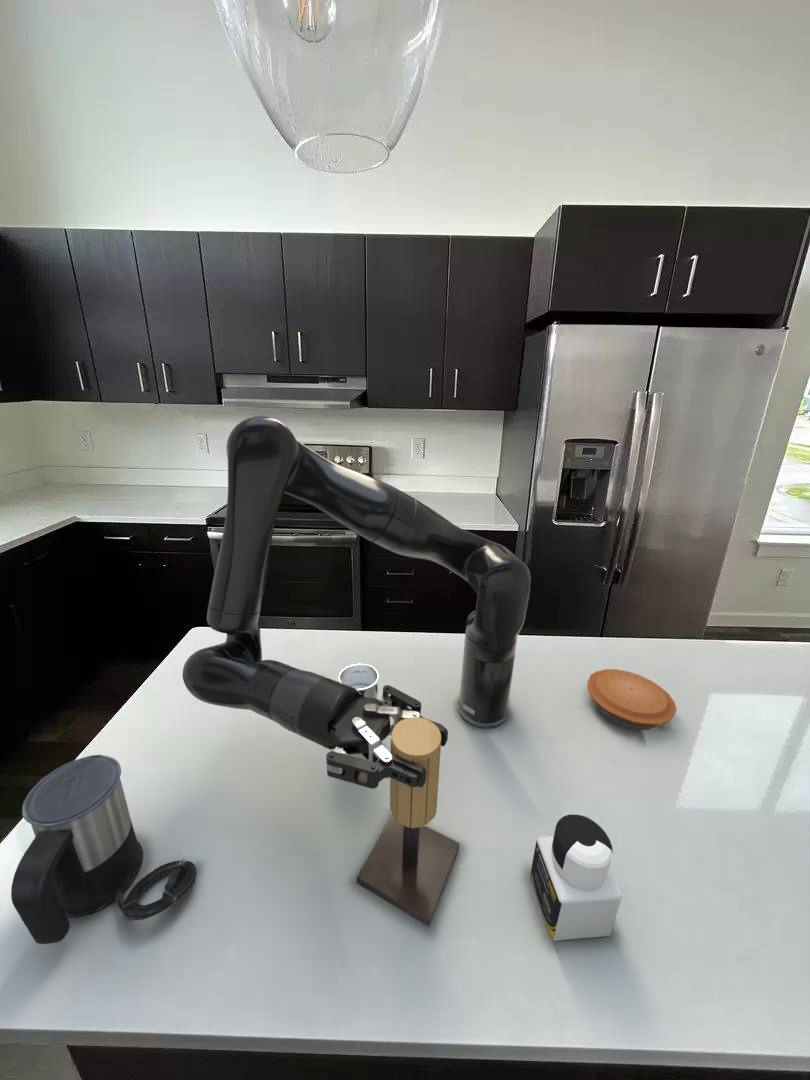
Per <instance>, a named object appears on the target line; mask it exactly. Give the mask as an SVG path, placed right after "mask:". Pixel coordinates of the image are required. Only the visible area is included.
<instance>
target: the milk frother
mask: <svg viewBox="0 0 810 1080" xmlns="http://www.w3.org/2000/svg"><path fill="white" fill-rule="evenodd" d="M121 775H122V767H121V764H120V763H119V761H118V759H115V758H114V757H111V756H109V755H103V754H92V755H88V756H85V757H84V756H83V757H80V758H78V759H74V760H71V761H68V762H67V763H65V764H63V765H61V766H60V767H59V766H58V767H57V768H55V769H54V770H53V771H51V772H49V773H48V774H46V775H45V776H43V778H41V779H40V780H39V781H38V782H37V783H36V784H35V785H34V786H33V787H32V788H31V789H30V791H29V792H28V794H27V795H26V797H25V799H24V801H23V803H22V807H21V812H22V813H21V814H22V817H23V819H24V820H25V821H26V823H29V824H30V825H31V828H32V832H33V834H34V839H33V840H32V841H31V843H30V845H28V847H27V849H26V850H25V852H24V854H23V855H22V857H21V859H19V860H20V861H19V862H18V864H17V867H16V870H15V872H14V874H13V875H14V876H13V878H12V883H11V889H10V890H11V891H10V897H11V903H12V905H13V907H14V909H15V911H16V912H17V914H18V916H19V917H20V919H21V921H22V922H23V924H24V926H25V927H26V929H27V931H28V932H29V934H30V935H31V937H32V939H33V940H34V942H35V943H36V944H38V945H49V944H56V943H59V942H62V941H63V940H64V939H65V938H66V937H67V935H68V933H69V931H70V928H71V922H70V920H69V918H68V916H84V915H85V916H86V915H88V914H91V913H94V912H97V911H99V910H102V909H104V908H105V907H107V906H108V905H110V904H111V903H112V902H114V901H115V900H116V903H117V906H118V908H119V910H120V912H121V913H122V915H123V916H124V918H126V920H127V919H128V920H130V921H142V920H145V919H148V918H149V919H150V918H152V917H154V916H156V915H158V914H160V913H162V912H164V911H166V910H167V909H169V908H170V907H172V906H173V905H174V904H176V903H177V902H179V901H180V900H181V899H182V898H183V897H184V896H185V895H186V894H187V893H188V892H189V891H190V890H191V889H192V888H193V886H194V884H195V882H196V879H197V876H198V870H197V866H196V864H195V863H193V862H192V861H190V860H186V859H185V857H184V858H183V857H182V858H181V859H179V860H174V861H169V862H167V863H164V864H162V865H159V866H158V867H156V868H154V869H153V870H152V871H150V872H149V873H147V874H146V875H145V876H143V877H141V879H140V880H139V881H138V882H137V883H136V884H134V886H133V887H132V888H131V889H130V891H129V892H128V894H127V896H126V897H125V899H124V896H123V893H124V892H125V891H126V890H127V889H128V888H129V887H130V886H131V884H132V883H133V882H134V881H135V878H137V875H138V874H139V872H140V870H141V867H142V864H143V861H144V850H143V846H142V843H141V842H140V841H138V838H137V835H136V832H135V828H134V825H133V821H132V818H131V814H130V810H129V807H128V801H127V798H126V795H125V791H124V787H123V783H122V780H121ZM167 874H169V875H168V878H167V882H166V883H165V886H164V891H163V892H162V897H161V898H159V899H157V900H155V901H153V902H150V903H147V904H141V903H139V902H137V900H138V897H140V895H141V893H142V892H143V891H144V890H145V889H147V887H148V886H149V885H151V883H153V882H154V881H156V880H157V879H159V878H161V877H162V876H164V875H167Z"/></svg>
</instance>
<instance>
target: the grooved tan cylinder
mask: <svg viewBox="0 0 810 1080" xmlns="http://www.w3.org/2000/svg"><path fill="white" fill-rule="evenodd" d="M424 718H425V717H423V718H420V717H410V718H406V719H403V720H401V721H400V722H398V723H397V724H396V725H395V727H394V728H393V730H392V735H391V739H390V754H391V755H392V758H394V757H395V755H397V756H399V757H401V758H403V759H405V760H408V761H410V762H413V763H415V764H418V765H420V766H422V767H424V768H425V769H426V782H425V784H424V786H423V787H418V786H417V787H410V786H408V785H406V784H404V783H402V782H399V781H397V780H395V779H393V778H390V777H389V810H390V812H391V815H392V814H393V816H394V818H395V820H397V822H398V823H400V824H402V825H404V826H406V827H408V828H410V826H411V828H418V827H424V826H428V825H429V823H431V821H433V820H434V819H435V817H436V816H437V810H438V809H437V808H438V794H439V781H440V780H439V779H440V764H441V750H442V749H441V748H442V746H441V733H440V731H439V729H438V727H437V726H436V725H435V724H434V723H433V722H431V721H432V720H431V721H429V720H430V719H429V720H427V719H428V718H426V719H424Z"/></svg>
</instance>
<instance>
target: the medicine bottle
mask: <svg viewBox="0 0 810 1080" xmlns="http://www.w3.org/2000/svg"><path fill="white" fill-rule="evenodd" d="M535 841H536V842H535V846H534V852H533V858H532V863H531V867H530V872H529V873H530V875H529V877H530V879H531V882H532V886H533V889H534V892H535V895H536V898H537V901H538V904H539V907H540V911H541V914H542V916H543V918H544V922H545V924H546V928H547V931H548V934H549V937H550V939H551V940H552V941H553V942H559V941H568V940H581V939H589V938H590V939H592V938H602V937H609V936H611V935H612V930H613V927H614V925H615V921H616V917H617V914H618V912H619V908H620V904H621V901H622V898H623V895H622V892H621V891H620V888H619V887H618V885H617V883H616V880H615V878H614V876H613V875H612V872H611V870H610V866H611V862H612V859H613V844H612V842H611V840H610V837H609V835H608V834H607V833H606V831H605V830H604V829H603V828H602V827H601V826H600V825H599V824H598V823H596V821H594V820H592V819H591V818H589V817H587V816H585V815H582V814H574V813H572V814H567V815H564V816H562V817H560V818H559V819H558V821H557V823H556V825H555V829H554V833H553V835H551V836H540V837H536V840H535Z"/></svg>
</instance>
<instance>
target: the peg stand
mask: <svg viewBox="0 0 810 1080" xmlns="http://www.w3.org/2000/svg"><path fill="white" fill-rule="evenodd" d="M459 851H460V843H459V842H458V841H456V840H454V839H452V838H450V837H448V836H446V835H444V834H442V833H440V832H439V831H436V830H435V829H432V828H430V827H428V826H427V825H425V826H424V827H418V828H411V826H410V828H408V827H406V826H404V825H402V824H400V823H398V822H397V820H395V818H394V816H393V814H392V813H391V816H390V818H389V819H388V821H387V823H386V824H385V826H384V828H383V830H382V831H381V833H380V835H379V836H378V838H377V840H376V842H375V844H374V845H373V847H372V849H371V851H370V853H369V854H368V856H367V858H366V860H365V862H364V863H363V865H362V866H361V869H360V870H359V872H358V874H357V875H356V884H357V885H359V886H360V887H362V888H364V889H365V890H367V891H368V892H370V893H372V894H374V895H375V896H377V897H379V898H380V899H382V900H384V901H385V902H387V903H389V904H390V905H392V906H394V907H395V908H397V909H398V910H400V911H402V912H403V913H405V914H407V915H409V916H410V917H412V918H413V919H415V920H416V921H418V922H420V923H422V924H423V925H425V926H426V927H428V928H430V927H431V924H432V922H433V919H434V917H435V914H436V911H437V910H438V907H439V903H440V900H441V898H442V896H443V894H444V890H445V888H446V885H447V883H448V880H449V877H450V874H451V872H452V869H453V867H454V865H455V861H456V859H457V856H458V854H459Z"/></svg>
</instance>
